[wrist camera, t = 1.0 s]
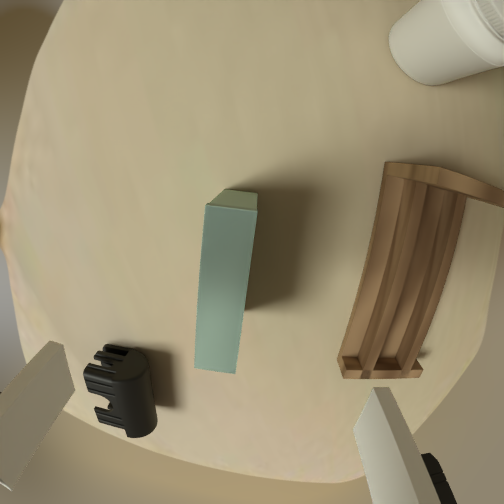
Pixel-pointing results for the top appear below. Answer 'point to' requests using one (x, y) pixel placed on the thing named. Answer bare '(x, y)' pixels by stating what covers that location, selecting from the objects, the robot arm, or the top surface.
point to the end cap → (123, 390)
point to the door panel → (224, 278)
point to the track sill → (406, 268)
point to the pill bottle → (449, 39)
